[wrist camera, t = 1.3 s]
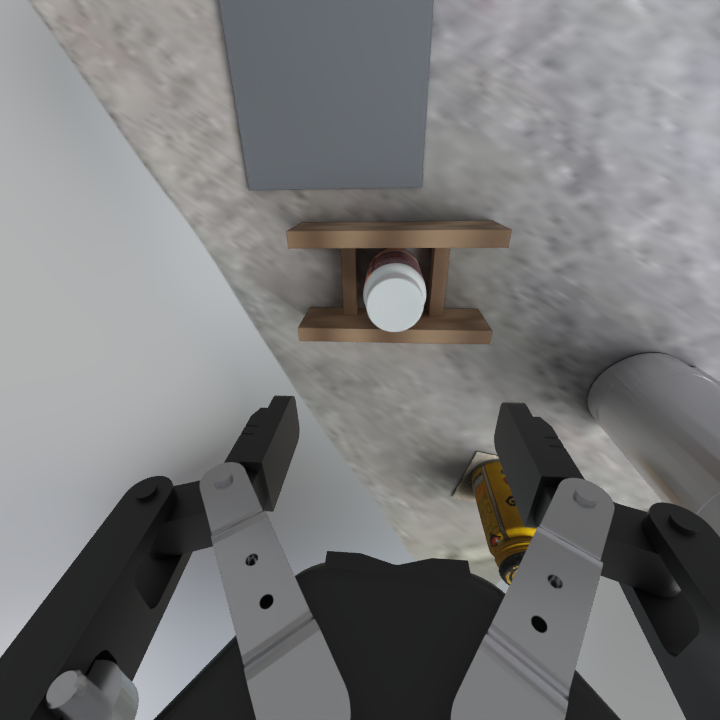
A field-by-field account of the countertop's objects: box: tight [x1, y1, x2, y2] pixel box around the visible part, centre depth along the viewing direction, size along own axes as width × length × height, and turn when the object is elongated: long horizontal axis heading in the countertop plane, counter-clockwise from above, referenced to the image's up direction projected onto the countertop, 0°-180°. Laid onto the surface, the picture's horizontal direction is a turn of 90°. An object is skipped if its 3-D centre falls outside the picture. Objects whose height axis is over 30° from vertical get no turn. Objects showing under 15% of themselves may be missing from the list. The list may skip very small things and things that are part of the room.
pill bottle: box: [363, 248, 426, 332], centre depth 27 cm, size 5×5×8 cm
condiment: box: [452, 452, 537, 586], centre depth 37 cm, size 7×8×12 cm
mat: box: [219, 0, 434, 190], centre depth 24 cm, size 14×14×1 cm
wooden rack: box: [286, 221, 512, 344], centre depth 28 cm, size 16×9×5 cm, turn 91°
